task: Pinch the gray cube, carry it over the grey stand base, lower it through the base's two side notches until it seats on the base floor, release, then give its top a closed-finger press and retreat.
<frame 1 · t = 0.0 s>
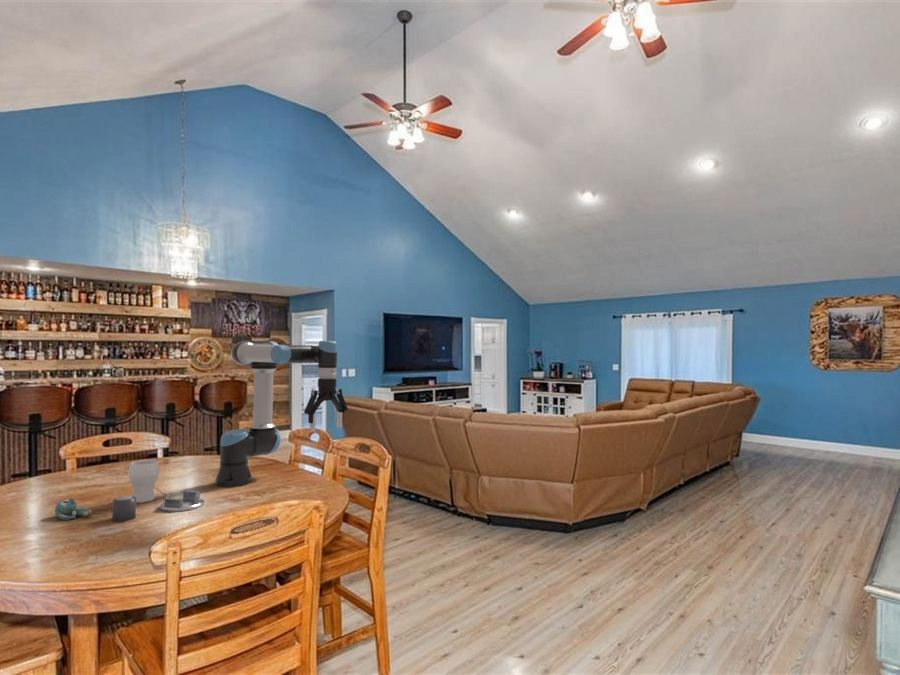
hand: (326, 429, 211), 28 cm above the table, fingers open, 13 cm apart
grey stand base: (182, 505, 197), on the table
cup: (143, 500, 203), on the table
gray cube: (124, 518, 181), on the table
stuffed animal: (72, 517, 183), on the table
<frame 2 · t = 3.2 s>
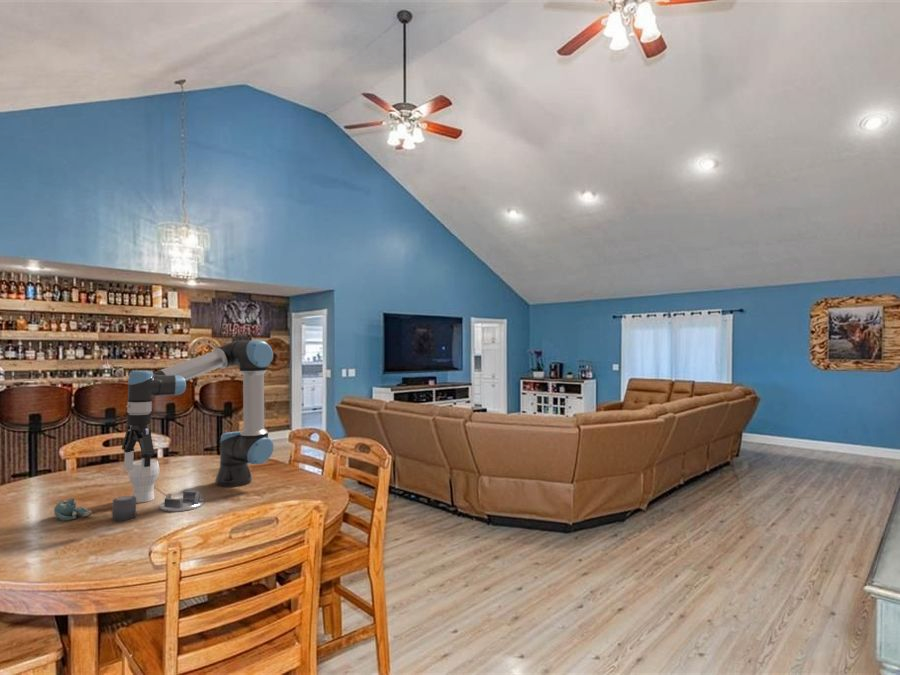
hand: (136, 473, 183), 16 cm above the table, fingers open, 13 cm apart
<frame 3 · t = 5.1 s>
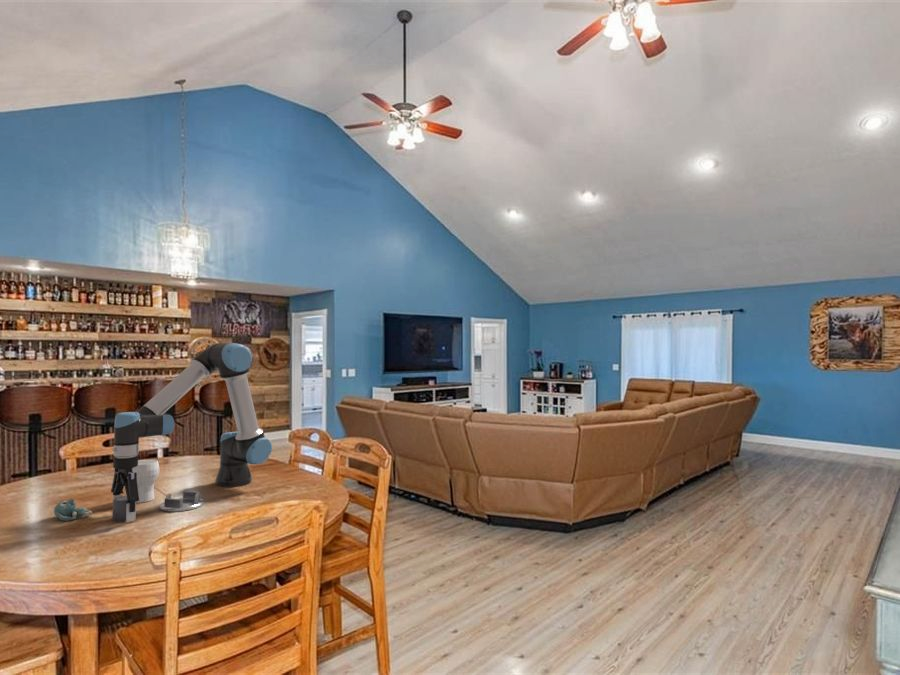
hand: (124, 517, 181), 0 cm above the table, fingers open, 12 cm apart
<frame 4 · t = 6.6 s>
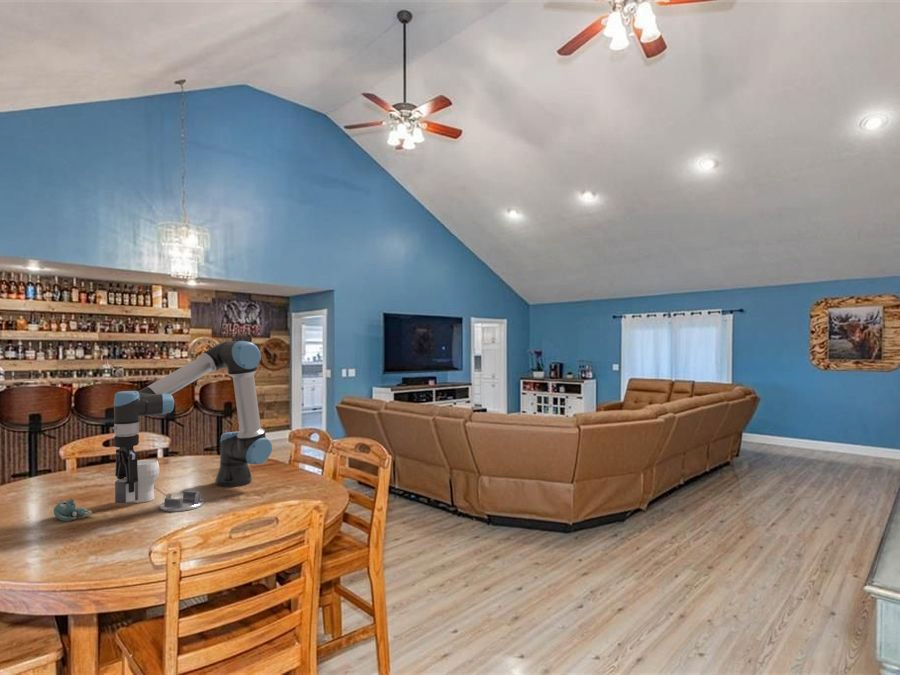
hand: (126, 499, 182), 7 cm above the table, fingers closed on gray cube, 7 cm apart
gray cube: (126, 500, 182), point 6 cm above the table, touching gripper
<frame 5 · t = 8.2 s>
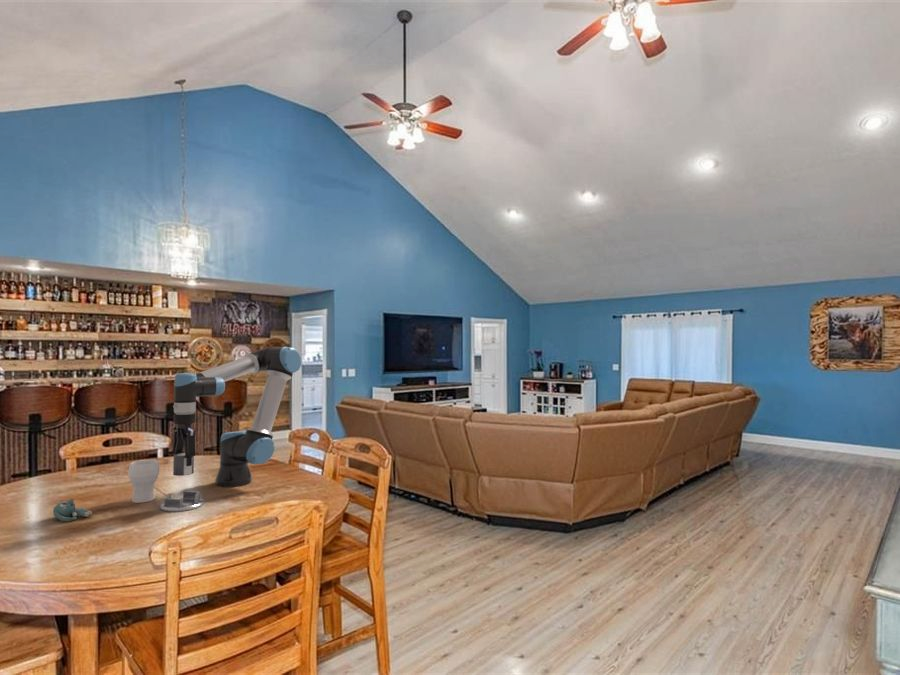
hand: (183, 472, 197), 13 cm above the table, fingers closed on gray cube, 7 cm apart
gray cube: (183, 473, 197), point 12 cm above the table, touching gripper
when the fingers open (2 cm above the table, at t = 10.1 s): gray cube stays where it is, resting on grey stand base.
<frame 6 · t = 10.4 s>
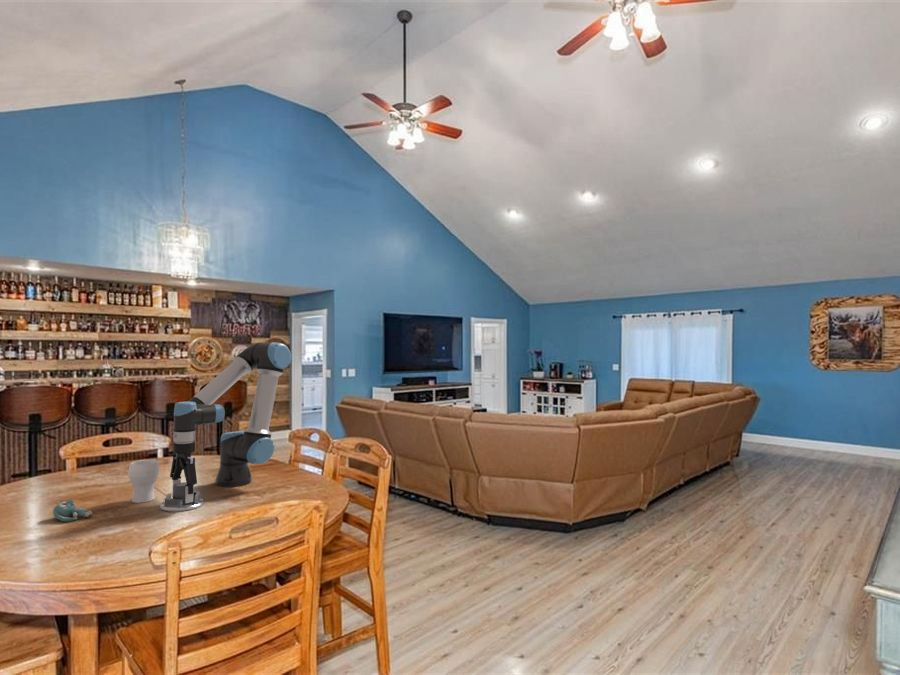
hand: (182, 499, 197), 2 cm above the table, fingers open, 10 cm apart
gray cube: (182, 503, 197), point 1 cm above the table, touching grey stand base
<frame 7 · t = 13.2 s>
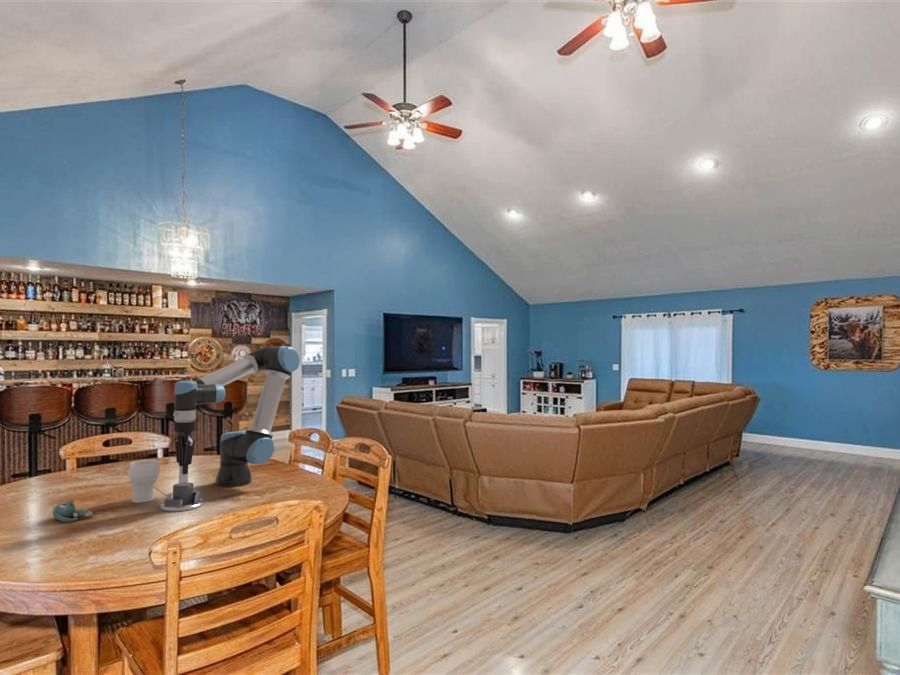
hand: (183, 482, 197), 9 cm above the table, fingers closed
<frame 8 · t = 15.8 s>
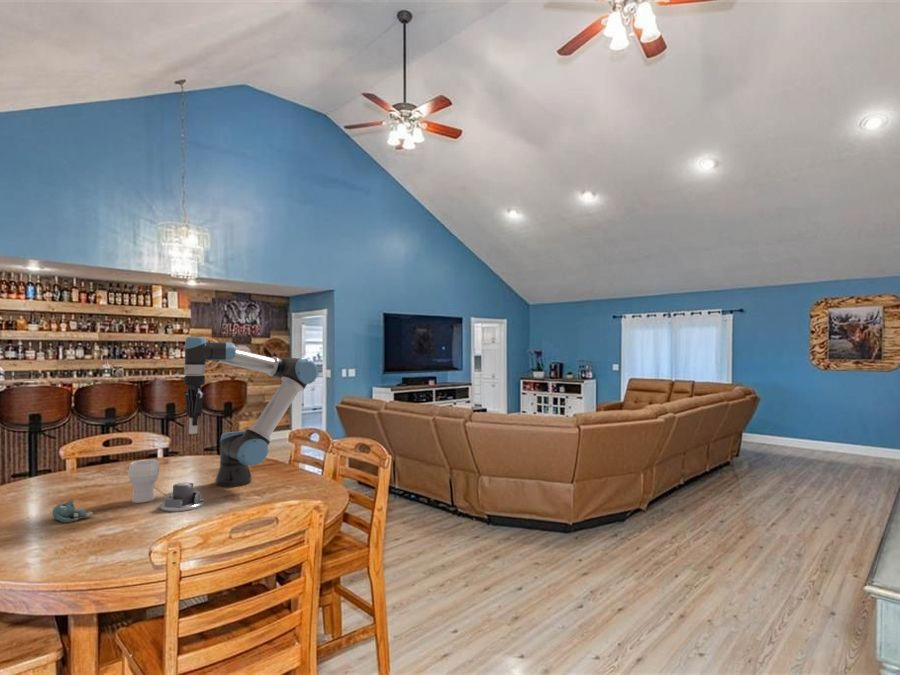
hand: (193, 433, 206), 26 cm above the table, fingers closed
at the end: gray cube 0.1 cm off-centre on the grey stand base, point 1.0 cm above the grey stand base's base; gray cube tilted 0°; the gripper is holding nothing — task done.
